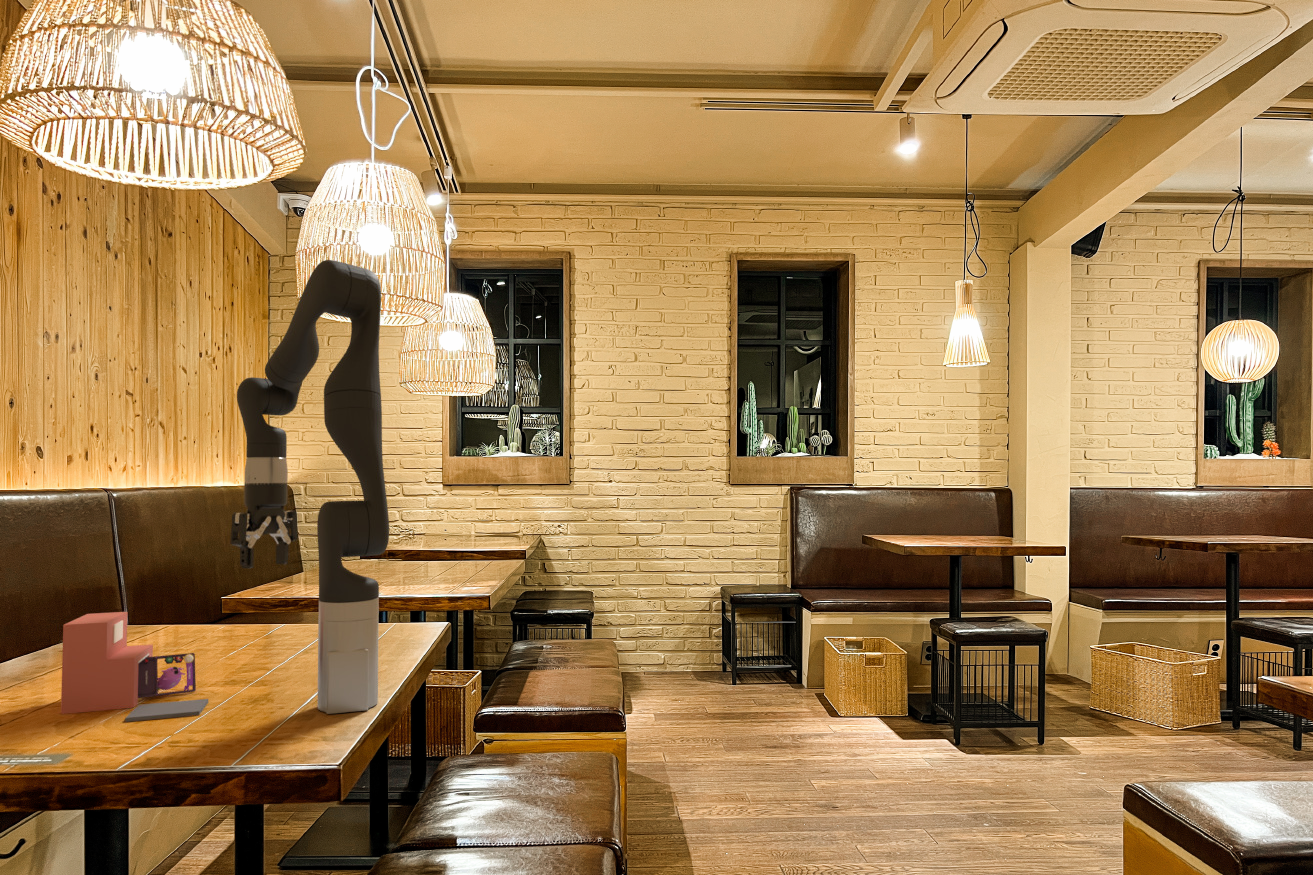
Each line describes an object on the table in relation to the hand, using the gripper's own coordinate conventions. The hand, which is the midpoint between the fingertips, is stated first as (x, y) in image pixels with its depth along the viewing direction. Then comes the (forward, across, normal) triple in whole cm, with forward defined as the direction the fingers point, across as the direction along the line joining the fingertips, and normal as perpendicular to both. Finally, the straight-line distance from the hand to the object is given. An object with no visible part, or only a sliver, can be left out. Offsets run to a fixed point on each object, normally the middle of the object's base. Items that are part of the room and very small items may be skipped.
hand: (264, 566), depth 157 cm
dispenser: (+20, -23, +10) cm, 32 cm away
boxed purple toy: (+21, -17, +5) cm, 27 cm away
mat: (+21, -25, -5) cm, 33 cm away
